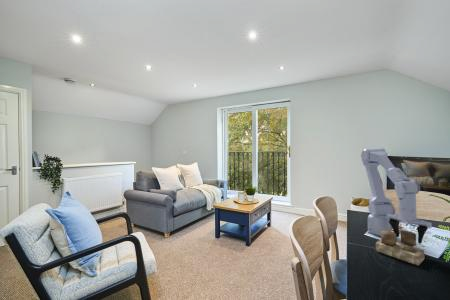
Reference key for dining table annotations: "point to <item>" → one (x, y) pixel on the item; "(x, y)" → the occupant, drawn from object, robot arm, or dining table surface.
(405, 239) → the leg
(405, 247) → the wooden toy block
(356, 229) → the dining table surface
